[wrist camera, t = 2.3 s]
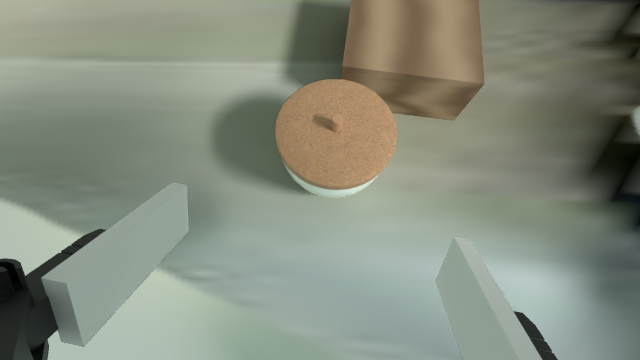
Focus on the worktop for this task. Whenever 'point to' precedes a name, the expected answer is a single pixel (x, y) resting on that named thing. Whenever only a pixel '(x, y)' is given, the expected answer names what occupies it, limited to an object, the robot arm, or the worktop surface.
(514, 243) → the worktop surface
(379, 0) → the walnut block
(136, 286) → the robot arm
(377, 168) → the lidded jar
